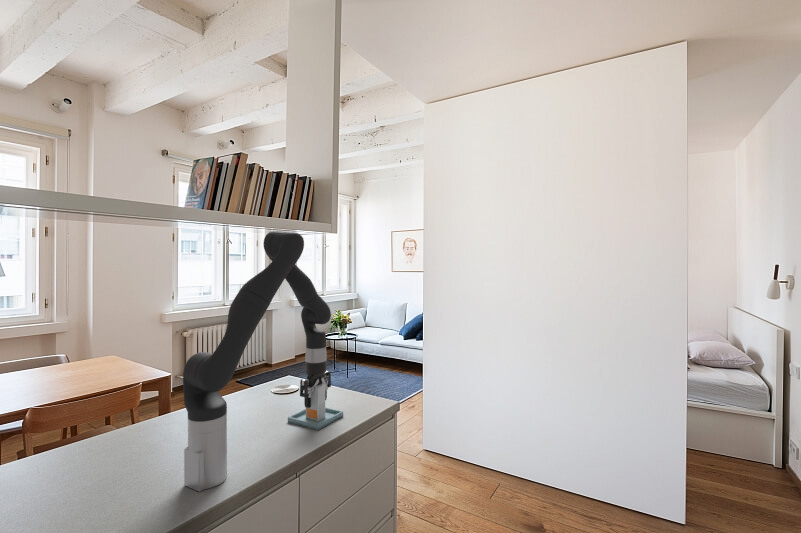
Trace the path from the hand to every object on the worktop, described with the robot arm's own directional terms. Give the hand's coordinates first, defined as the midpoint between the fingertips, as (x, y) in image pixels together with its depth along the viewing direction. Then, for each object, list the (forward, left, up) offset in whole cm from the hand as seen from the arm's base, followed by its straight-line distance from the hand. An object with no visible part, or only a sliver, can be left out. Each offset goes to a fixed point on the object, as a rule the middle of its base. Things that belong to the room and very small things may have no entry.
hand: (316, 403), depth 145 cm
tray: (0, 0, -6) cm, 6 cm away
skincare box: (0, 0, -5) cm, 5 cm away
